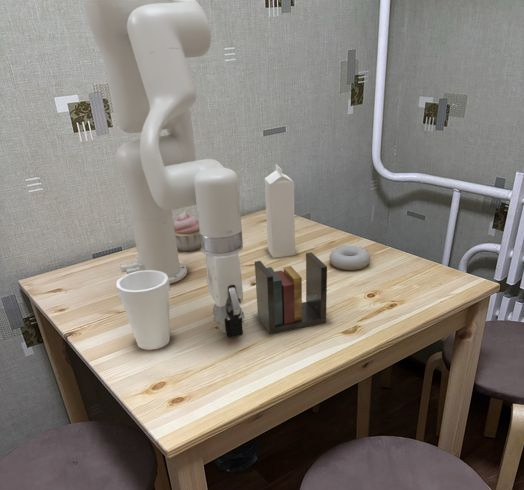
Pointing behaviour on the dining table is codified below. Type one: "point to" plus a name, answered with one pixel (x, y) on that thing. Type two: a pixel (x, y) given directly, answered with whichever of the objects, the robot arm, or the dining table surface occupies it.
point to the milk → (280, 214)
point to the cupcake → (187, 232)
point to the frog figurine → (222, 316)
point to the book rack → (291, 296)
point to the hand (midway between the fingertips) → (229, 325)
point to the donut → (349, 257)
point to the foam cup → (147, 306)
